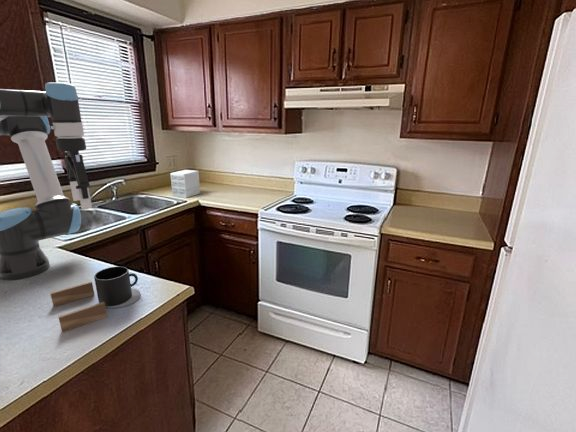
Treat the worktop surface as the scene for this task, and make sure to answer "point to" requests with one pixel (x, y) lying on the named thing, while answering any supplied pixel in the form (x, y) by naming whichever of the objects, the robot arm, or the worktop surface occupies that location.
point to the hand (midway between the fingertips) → (82, 204)
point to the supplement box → (185, 183)
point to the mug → (114, 285)
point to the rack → (80, 315)
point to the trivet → (133, 299)
